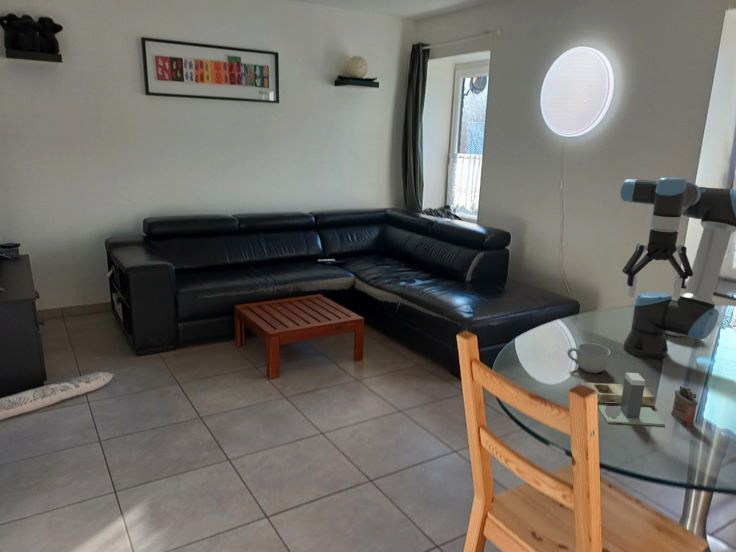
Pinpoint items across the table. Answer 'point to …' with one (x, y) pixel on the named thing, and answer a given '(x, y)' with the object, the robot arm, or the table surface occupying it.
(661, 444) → the table surface
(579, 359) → the teacup
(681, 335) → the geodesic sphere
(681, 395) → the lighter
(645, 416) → the mat
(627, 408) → the gray rectangular block
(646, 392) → the block
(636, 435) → the table surface
